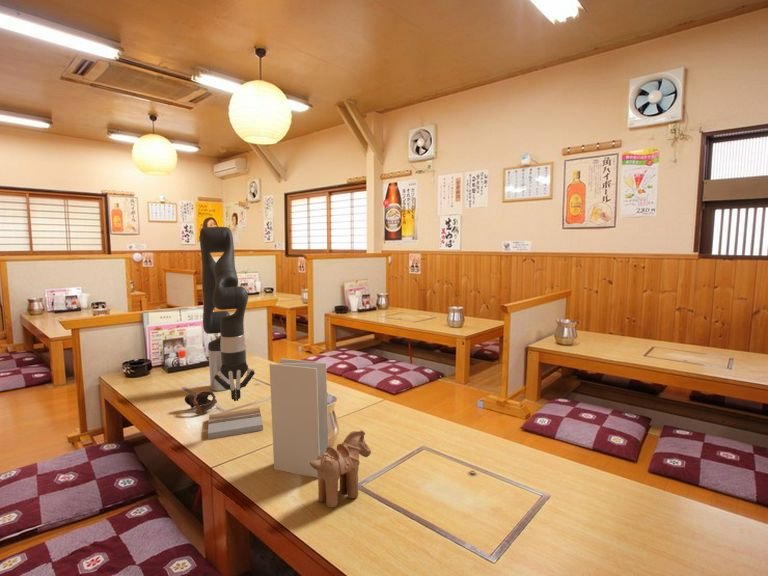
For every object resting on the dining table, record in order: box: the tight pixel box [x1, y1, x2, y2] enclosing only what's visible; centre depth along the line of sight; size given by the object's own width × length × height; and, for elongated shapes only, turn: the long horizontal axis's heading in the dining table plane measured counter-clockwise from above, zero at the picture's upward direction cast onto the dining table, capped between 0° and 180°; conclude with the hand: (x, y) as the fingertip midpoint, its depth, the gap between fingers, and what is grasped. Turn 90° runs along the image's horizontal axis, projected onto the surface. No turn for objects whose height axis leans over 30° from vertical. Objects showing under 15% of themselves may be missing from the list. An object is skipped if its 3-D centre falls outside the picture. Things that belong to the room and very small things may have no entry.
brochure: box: [269, 358, 329, 479], centre depth 115 cm, size 14×6×30 cm, turn 71°
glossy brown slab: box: [208, 407, 262, 425], centre depth 149 cm, size 8×17×2 cm, turn 111°
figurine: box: [310, 429, 372, 508], centre depth 104 cm, size 7×18×15 cm, turn 132°
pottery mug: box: [184, 390, 218, 416], centre depth 158 cm, size 12×10×8 cm
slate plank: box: [207, 415, 264, 440], centre depth 141 cm, size 7×17×2 cm, turn 111°
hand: (236, 400), depth 138 cm, fingers closed
